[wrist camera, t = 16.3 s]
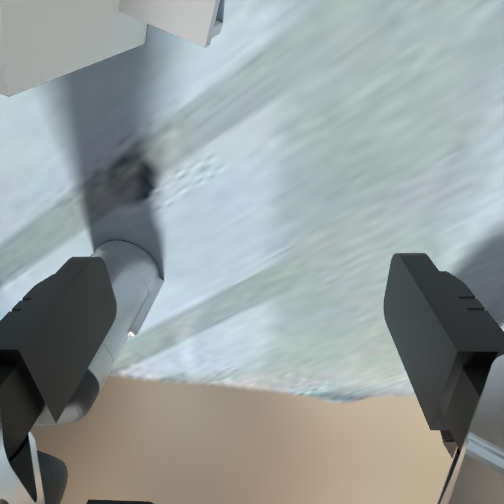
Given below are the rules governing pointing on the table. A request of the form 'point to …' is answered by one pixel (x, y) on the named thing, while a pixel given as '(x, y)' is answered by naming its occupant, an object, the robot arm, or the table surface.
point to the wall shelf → (88, 33)
